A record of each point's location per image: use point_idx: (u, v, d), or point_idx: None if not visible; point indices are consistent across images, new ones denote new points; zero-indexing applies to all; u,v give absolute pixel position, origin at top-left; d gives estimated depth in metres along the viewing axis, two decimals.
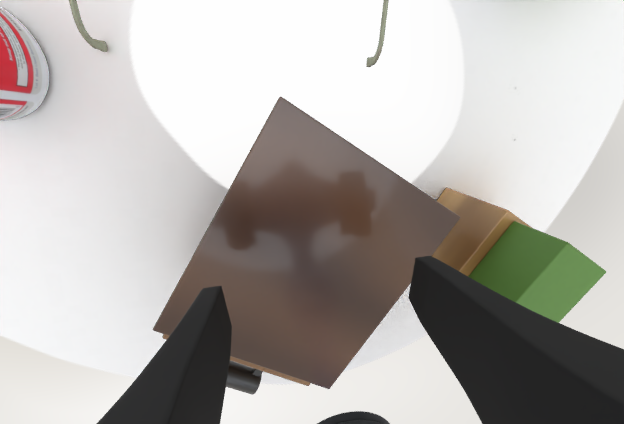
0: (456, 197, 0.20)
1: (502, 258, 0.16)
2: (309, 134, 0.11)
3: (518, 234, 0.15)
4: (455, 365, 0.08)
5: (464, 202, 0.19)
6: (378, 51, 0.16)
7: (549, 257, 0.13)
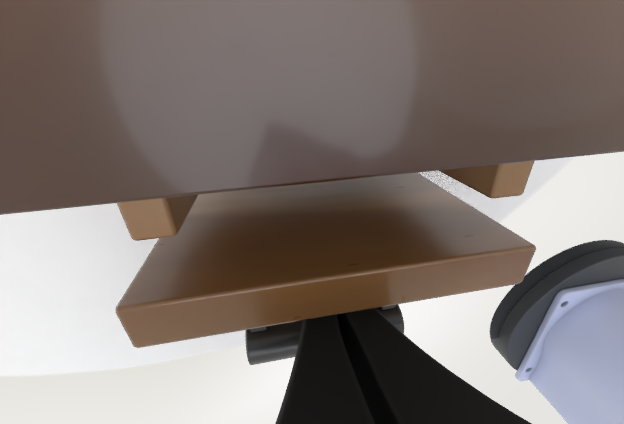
0: None
1: None
2: None
3: None
4: None
5: None
6: None
7: None
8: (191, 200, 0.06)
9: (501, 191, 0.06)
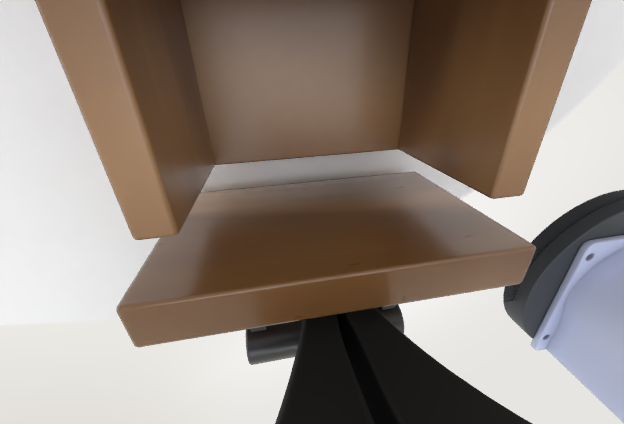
0: None
1: None
2: None
3: None
4: None
5: None
6: None
7: None
8: (192, 200, 0.06)
9: (502, 191, 0.06)
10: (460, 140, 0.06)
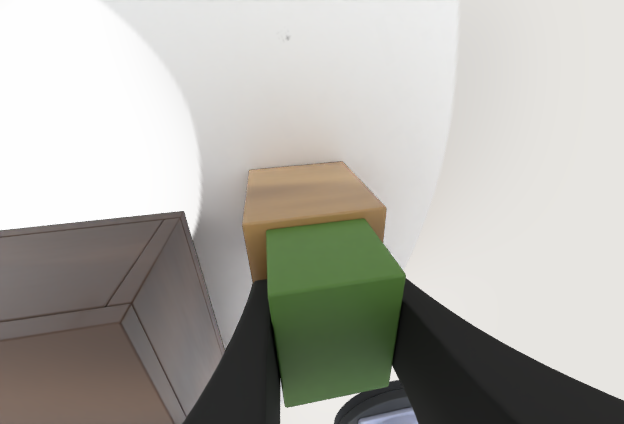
0: None
1: None
2: None
3: None
4: (402, 376, 0.08)
5: None
6: None
7: (271, 319, 0.07)
8: None
9: None
10: None
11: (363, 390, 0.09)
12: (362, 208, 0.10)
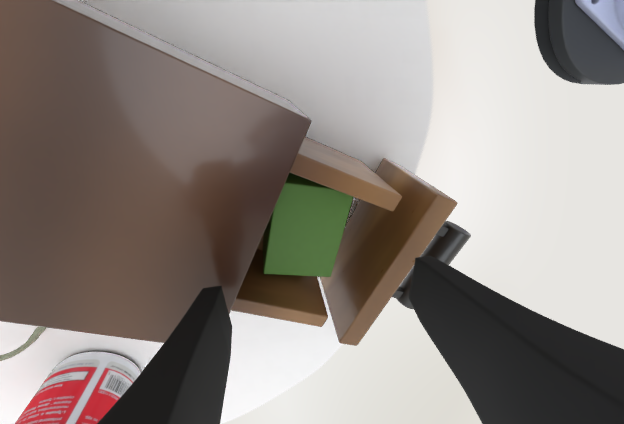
0: None
1: None
2: None
3: None
4: (455, 365, 0.08)
5: None
6: None
7: None
8: (320, 298, 0.15)
9: (392, 207, 0.11)
10: None
11: (314, 274, 0.14)
12: None
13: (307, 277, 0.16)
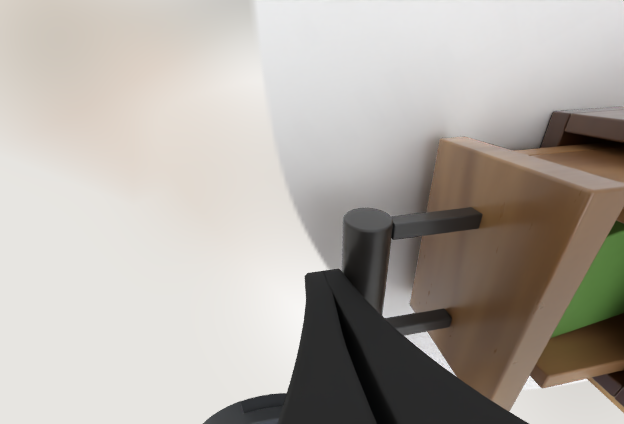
0: None
1: None
2: None
3: None
4: None
5: None
6: None
7: None
8: None
9: (550, 379, 0.10)
10: None
11: None
12: None
13: None
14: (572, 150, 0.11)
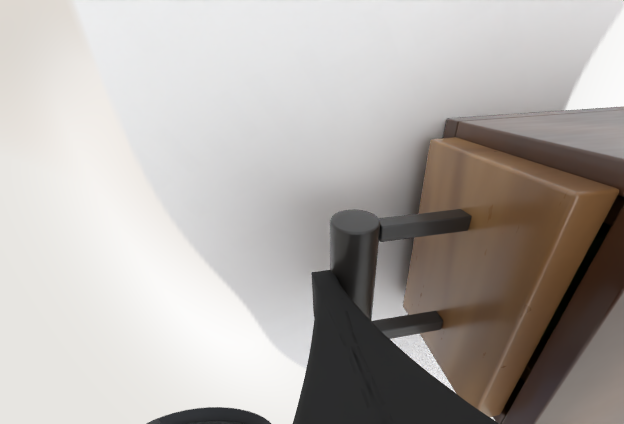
0: None
1: None
2: None
3: None
4: None
5: None
6: None
7: None
8: None
9: None
10: None
11: None
12: None
13: None
14: None
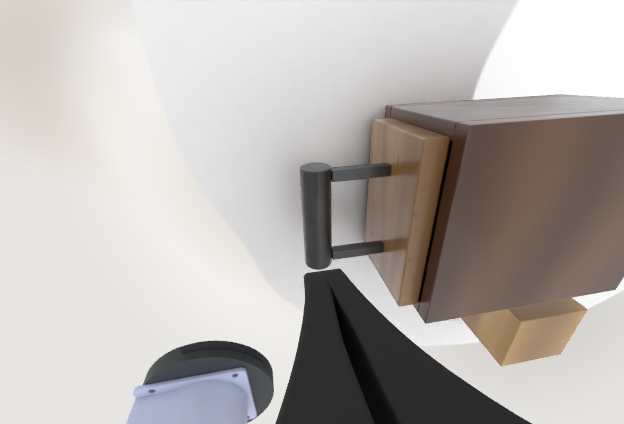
0: None
1: None
2: None
3: None
4: None
5: None
6: None
7: None
8: None
9: None
10: None
11: None
12: (563, 345, 0.22)
13: None
14: None
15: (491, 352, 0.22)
